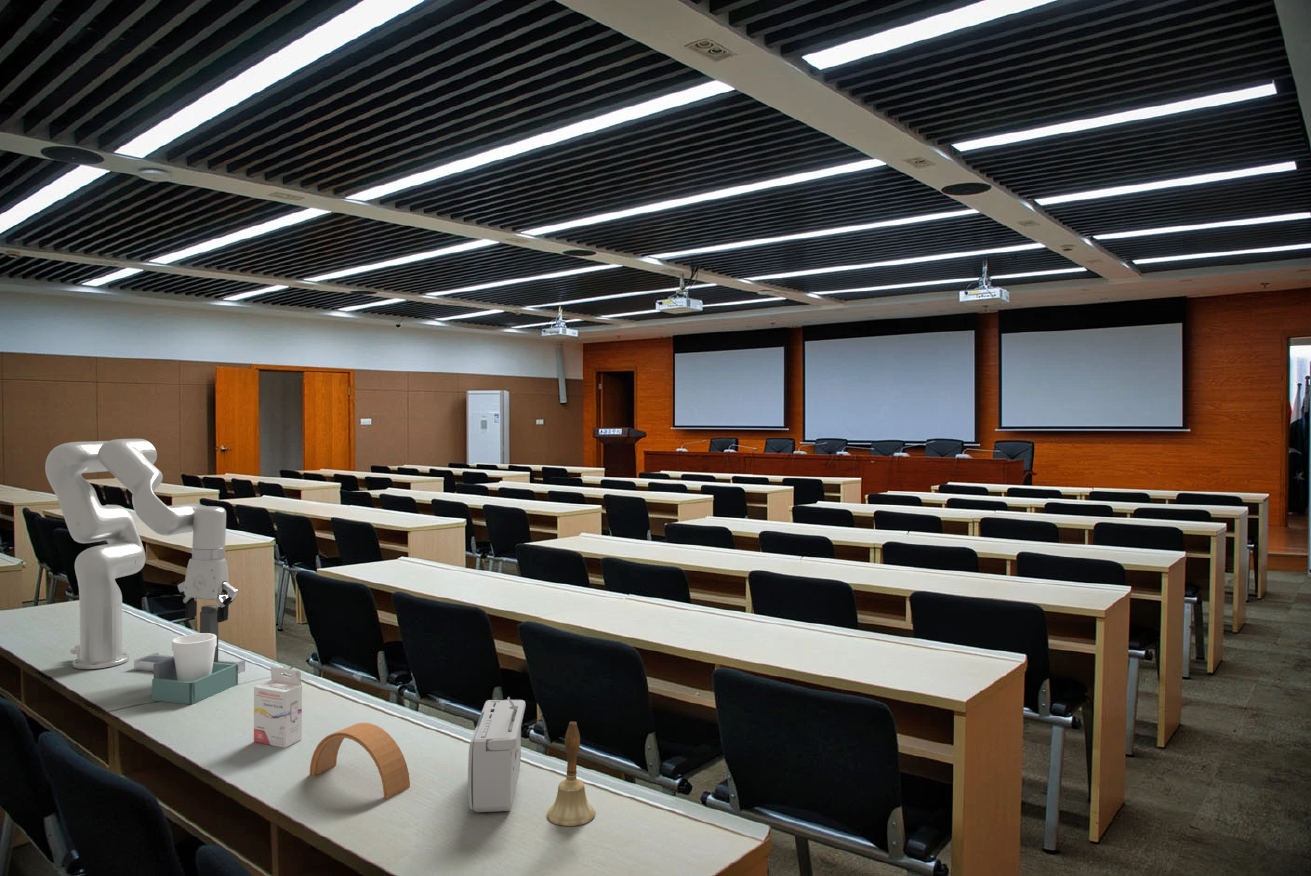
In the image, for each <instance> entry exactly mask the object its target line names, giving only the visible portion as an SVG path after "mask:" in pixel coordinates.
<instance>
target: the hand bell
mask: <svg viewBox="0 0 1311 876" xmlns="http://www.w3.org/2000/svg"><path fill="white" fill-rule="evenodd" d="M580 747H581V736H580V731H579V728H578V724H577V721H570V722H569V724H568V726H567V729H566V733H565V738H564V748H565V749H564V750H565V753H566V759H567V766H566V778H565V779H563V780H562V781H560V782H559V783H558V786H557V787H558V788H557V794H556V797H555V801H554V803H553V805H551V806H550V808H548V811H547V812H546V818H547V819H548V821H550V823H552V824H554V825H558V826H561V827H562V826H563V827H576V826H581V825H584V824H587V823H589V822H591V821H592V820H593V819H594V818H595V816H596V811H595V808H594V807H593V806H592V805H591V804H590V802H588V801H589V800H588V798H587V795H586V790H585V783H584V782H583V780H580V779H578V778H577V773H578V772H577V758H578V754H579V751H580Z"/></svg>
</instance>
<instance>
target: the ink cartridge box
mask: <svg viewBox="0 0 1311 876" xmlns="http://www.w3.org/2000/svg"><path fill="white" fill-rule="evenodd" d="M285 673H286V674H287V675H290V676H285V675H284V676H283V675H282V674H285ZM270 678H271V679H270V680H267V681H266V682H265V681H264V682H263V683H261V684H258V685H255V686H254V687H253V689H254V690H253V691H254V692H253V742H254V743H258V744H259V743H260V744H264V745H268V746H273V747H277V748H283V749H285V748H288V747H290V746H292V745H293V744H296V743H298V742H300V741H301V740H302V735H303V733H302V729H303V727H302V726H303V723H302V722H303V720H302V719H303V711H302V709H303V686H302V673H301V671H300V670H298V669H297V670H296V669H290V668H286V667H277V666H271V667H270Z"/></svg>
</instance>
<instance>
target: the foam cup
mask: <svg viewBox="0 0 1311 876" xmlns="http://www.w3.org/2000/svg"><path fill="white" fill-rule="evenodd" d="M216 646H217V636H216V635H215V634H210V633H200V632H197V633H188V634H184V635H179V636H177V637H174V638H173V639H171V651H172V654H173V656H174V660H175V667H176V673H177V680H178V681H188V682H193V681H195V680H198V679H200V678H202V677H205V676H207V675H210V674H212V668H213V661H214V654H215V647H216Z"/></svg>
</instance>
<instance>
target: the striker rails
mask: <svg viewBox="0 0 1311 876" xmlns="http://www.w3.org/2000/svg"><path fill="white" fill-rule="evenodd" d="M173 656H174V655H167V654H166V655H163V654H160V653H159V652H154V653H151V654H148V655H145V656H142V657H139V658H137V659H133V670H136V671H145V672H146V671H147V672H154V663H157V662H159V661H162V660H165V659H168V658H171V657H173ZM218 663H228V664H238V674H240V673H243V672H245V671H246V661H245V660H240V661H231V660H230V661H229V660H219V659H218Z"/></svg>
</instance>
